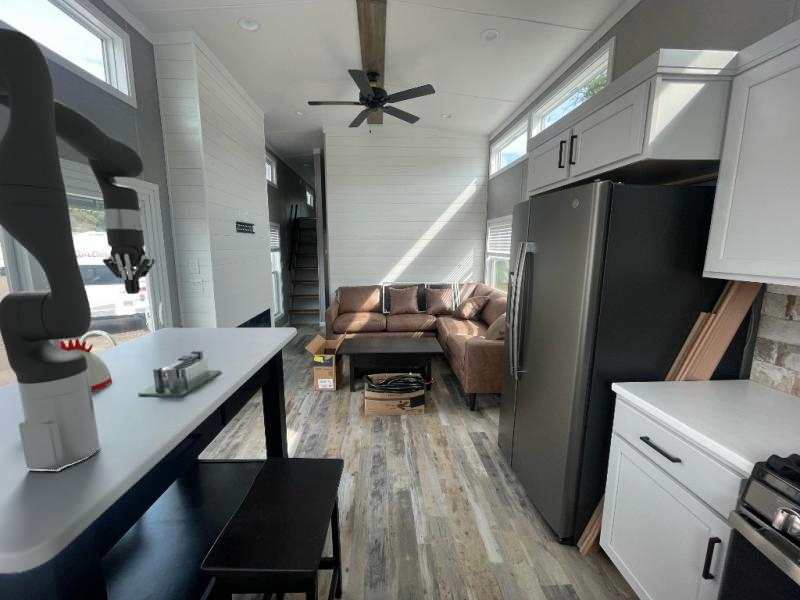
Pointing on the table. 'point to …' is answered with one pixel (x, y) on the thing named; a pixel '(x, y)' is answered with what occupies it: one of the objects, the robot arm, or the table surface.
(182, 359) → the silver flat bar
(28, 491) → the table surface
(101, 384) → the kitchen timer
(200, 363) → the heatsink
